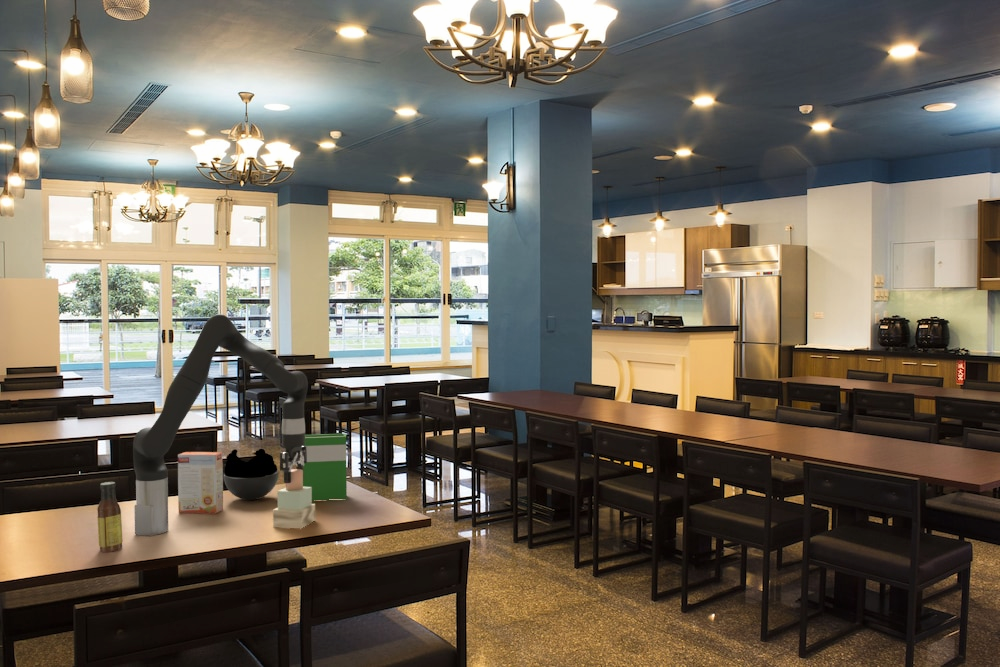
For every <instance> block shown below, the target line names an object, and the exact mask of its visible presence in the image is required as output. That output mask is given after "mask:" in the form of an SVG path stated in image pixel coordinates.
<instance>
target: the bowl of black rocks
mask: <svg viewBox="0 0 1000 667" xmlns="http://www.w3.org/2000/svg"><path fill="white" fill-rule="evenodd" d="M252 454H253V455H254V456H253V457H252V458H251V459H249V460H247V461H246V460H242V459H241V458H240V457H239V456H238V449H233V450H231V452H230V453H229V454H227V455H226V458H225V459H226V460H227V461H226V462H225V465H224V473H223V483H224V485H225V486H226V489H227V490H228V492H230V493H231V494H232V495H233V496H235V497H236V498H238V499H241V500H246V501H254V500H255V501H256V500H259V499H262V498H263V497H265V496H266V495H268V494H270V492H271V491H272V490H273V489H274V488H275V487H276V485H277V483H278V479H279V476H280V470H278V466H277V464H276V463H275V461H274V456H272V455H271V454H269V453H268V452H266V450H265V449H264V448H259V449H257V450H255V452H253V453H252Z"/></svg>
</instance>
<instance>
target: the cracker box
mask: <svg viewBox="0 0 1000 667" xmlns="http://www.w3.org/2000/svg"><path fill="white" fill-rule="evenodd" d="M223 464H224V462H223V452H219V451H213V452H212V451H185V452H182V453H178V454H177V490H178V491H177V492H178V493H177V494H178V500H177V501H178V503H177V504H178V513H179V514H213V513H215V514H218V513H219V512H221V511H223V510H224V478H223V475H224V472H223V470H224V468H223V467H224V465H223Z"/></svg>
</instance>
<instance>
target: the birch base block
mask: <svg viewBox="0 0 1000 667" xmlns="http://www.w3.org/2000/svg"><path fill="white" fill-rule="evenodd" d="M272 513H273V514H272V517H273V518H272V522H273V524H272V527H273V528H275V527H281V528H280V529H290V528H300V529H299V530H302V529H301V528H303V527H304V528H306V527H307V526H306V525H308V524H310V523H311V522H313V521H315V522H316V503H312V505H310V506H308V507H306V508H304V509H302V510H300V511H296V510H282V509H278V507H275V508H274V509H272ZM313 523H314V522H313ZM311 524H312V523H311ZM311 524H310V525H311ZM305 526H306V527H305ZM308 526H309V525H308ZM304 528H303V529H304Z"/></svg>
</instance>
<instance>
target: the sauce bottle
mask: <svg viewBox="0 0 1000 667" xmlns="http://www.w3.org/2000/svg"><path fill="white" fill-rule="evenodd" d="M99 489H100V501H99V503H98V505H97V508H96V510H97V530H98V547H99V551H100V552H101V551H103V552H102V553H111V551H112V552H117V551H119V550H120V549H122V548H123V525H122V523H123V522H122V509H121V507H120V504H119V503H118V500H117V498H116V482H115V481H105V482H101V483H100V485H99ZM116 550H117V551H116Z"/></svg>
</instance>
